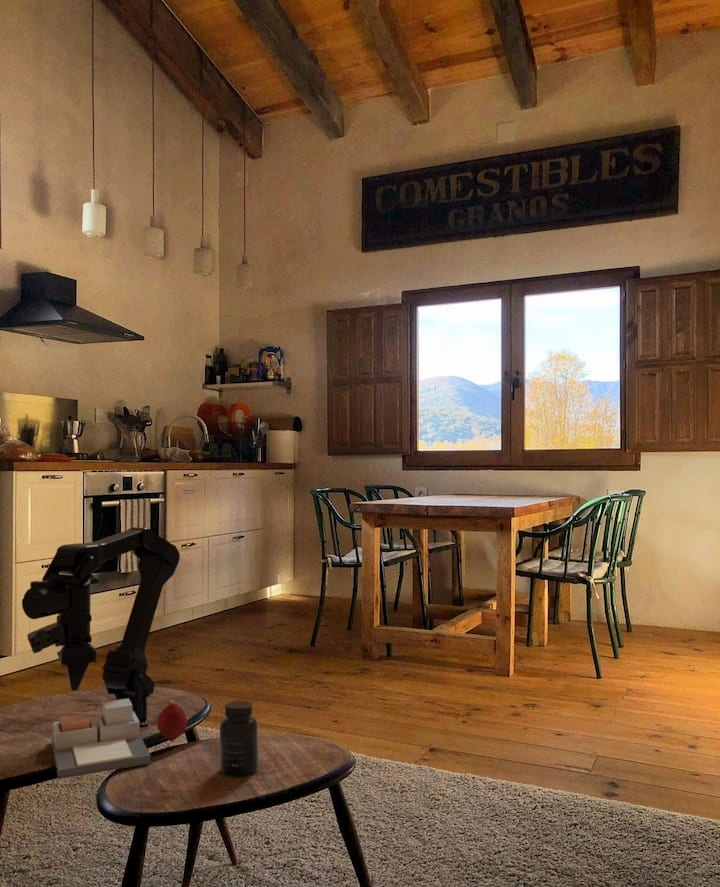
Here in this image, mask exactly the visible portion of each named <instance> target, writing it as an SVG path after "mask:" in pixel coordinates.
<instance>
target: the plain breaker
mask: <svg viewBox="0 0 720 887" xmlns="http://www.w3.org/2000/svg"><path fill="white" fill-rule="evenodd" d="M102 715H103V723H104V725H105V726H107V725H114V724H121V723H128V722H132V704H131V702H130V700H129V698H126V699H119V700H114V699H112V700H111V699H110V700H105V701H102Z"/></svg>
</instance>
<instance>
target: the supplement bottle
mask: <svg viewBox="0 0 720 887" xmlns="http://www.w3.org/2000/svg"><path fill="white" fill-rule="evenodd" d="M251 702H252V701H248V700H245V699H244V700H243V699H242V700H240V699H239V700H232V701H229V702H227V703H225V705H224V706H225V707H224V711H225V712H224V716H225V718H223V719H222V720H221V723H220V724H219V754H220V757H219V758H220V759H219V760H220V761H219V763H220V764H219V765H220V771H221V773H222V774H223V775H224V776H227V777H230V778H242V777H244V778H245V777H247V776H251V775H253V774H254V773H255V772H257V770H258V768H259V724H258V721H257V719H256V717H254V716H253V704H252V703H251Z"/></svg>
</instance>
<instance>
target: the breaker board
mask: <svg viewBox="0 0 720 887" xmlns="http://www.w3.org/2000/svg"><path fill="white" fill-rule="evenodd" d="M88 717H89V720H90V728H86V729H79V730H72V731H65V732H60V720H58V721H57V720H56V721H53V725H52V726H53V727H52V728H53V734H51V737H50V738H51V742H52V743H51V742H50V743H51V747H53V749H52V752H54V754H53V758H54V757H55V759H54V763H55V762H56V765H55V768H57V770H56V775H57V779H58V780H59V779H60V780H61V779H65V778H72V777H77V776H84V775H90V774H96V773H101V772H103V773H104V772H107V771H115V770H120V769H121V770H122V769H126V768H132V767H138V766H144V765H150V764H151V757H152V756H151V753H150V751H149V750H148V748H147V746H146V744H145V742H144V740H143V738H142V735H141V734H140V733H141V732H140V731H141V726H140V722H139V720H138V718H137V716H136V714H135V712H134V711H132V722H128V723H121V724H114V725H107V726H105V725H104V723H103V714H101V715H96V716H95V719H94V716H88ZM129 763H130V764H129ZM59 776H60V777H59Z"/></svg>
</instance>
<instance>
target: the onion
mask: <svg viewBox="0 0 720 887" xmlns="http://www.w3.org/2000/svg"><path fill="white" fill-rule="evenodd" d="M156 721H157V722H156V725H157V726H156V727H157V730H158V732H159V733H160V734H161V735H162V736H164V738H166V740H168V741H170V742H173V741H175V740H176V739H178V738H179V737H180V736H181V735H182V734H183V733H184V732H185V731H186V729H187V726H188V718H187V714H186V712H185V710H184V709H183V708H182V707H181V706H179V705H178V704H176V703H175V702H174V701H173V700H168V705H167V706H165V707H164V708H163V709H162V710H161V712H160V713H159V714H158V716H157V720H156Z"/></svg>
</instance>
